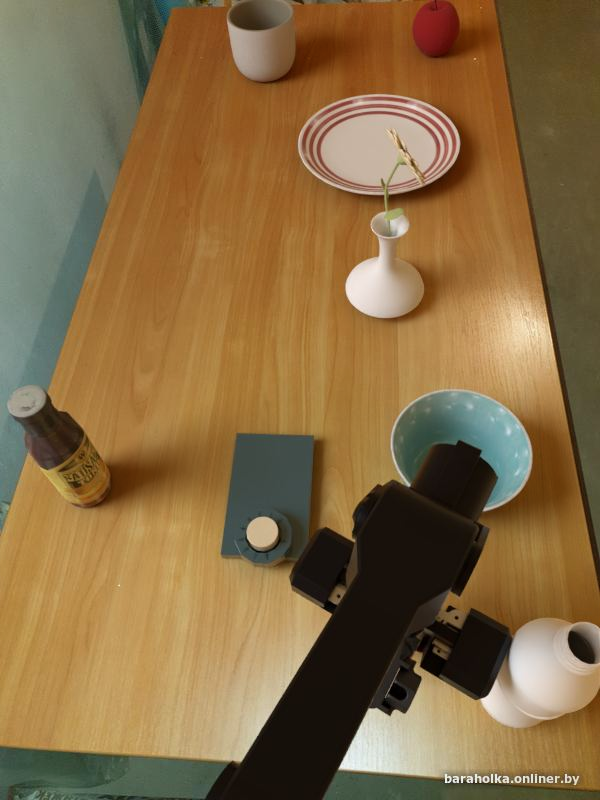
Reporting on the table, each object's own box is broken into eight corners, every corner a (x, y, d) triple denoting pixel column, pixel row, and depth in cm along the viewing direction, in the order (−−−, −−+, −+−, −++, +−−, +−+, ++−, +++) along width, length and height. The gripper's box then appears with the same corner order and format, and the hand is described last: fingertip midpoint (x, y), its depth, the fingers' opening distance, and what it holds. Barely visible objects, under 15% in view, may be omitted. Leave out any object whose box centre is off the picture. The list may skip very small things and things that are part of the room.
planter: (236, 54, 130) (228, -3, 120) (297, 51, 129) (294, -7, 120) (233, 90, 123) (224, 33, 114) (297, 87, 122) (293, 29, 113)
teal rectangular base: (306, 573, 73) (305, 565, 71) (220, 568, 74) (216, 560, 71) (314, 440, 82) (313, 429, 79) (237, 437, 83) (234, 426, 80)
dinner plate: (306, 106, 119) (305, 89, 116) (454, 107, 117) (457, 90, 114) (291, 207, 105) (290, 191, 102) (460, 211, 102) (463, 195, 100)
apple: (459, 62, 124) (468, 8, 115) (412, 64, 124) (418, 11, 116) (452, 36, 129) (460, -18, 120) (408, 38, 129) (412, -15, 121)
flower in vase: (424, 326, 91) (449, 183, 69) (344, 324, 92) (345, 183, 70) (421, 258, 98) (443, 110, 76) (346, 258, 98) (348, 111, 77)
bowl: (392, 414, 83) (397, 380, 76) (515, 429, 81) (532, 395, 74) (379, 527, 75) (383, 500, 68) (516, 547, 73) (534, 521, 66)
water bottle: (471, 723, 64) (535, 689, 43) (473, 649, 68) (534, 584, 47) (544, 737, 63) (647, 709, 42) (543, 661, 67) (637, 600, 46)
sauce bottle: (95, 517, 78) (27, 442, 61) (55, 498, 80) (-22, 419, 63) (125, 473, 81) (68, 389, 64) (85, 455, 83) (20, 369, 66)
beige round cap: (278, 552, 72) (276, 547, 71) (246, 550, 72) (244, 546, 71) (280, 521, 74) (279, 517, 72) (249, 520, 74) (248, 515, 73)
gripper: (244, 613, 48) (265, 653, 62) (475, 759, 42) (443, 768, 56) (319, 495, 53) (322, 555, 66) (535, 612, 47) (492, 652, 60)
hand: (389, 629), depth 62 cm, fingers closed on pill bottle, 6 cm apart
